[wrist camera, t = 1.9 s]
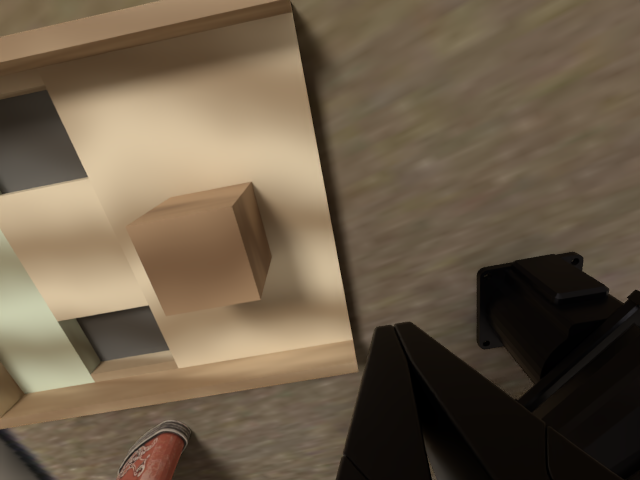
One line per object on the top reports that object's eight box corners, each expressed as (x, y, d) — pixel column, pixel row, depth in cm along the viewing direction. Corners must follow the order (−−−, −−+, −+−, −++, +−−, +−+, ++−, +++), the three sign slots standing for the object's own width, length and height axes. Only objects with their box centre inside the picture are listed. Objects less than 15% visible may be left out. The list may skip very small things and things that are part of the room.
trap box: (351, 334, 23) (358, 371, 20) (36, 386, 24) (-6, 430, 21) (290, 0, 15) (284, -28, 12) (-168, 102, 16) (-285, 101, 13)
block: (272, 256, 19) (260, 299, 15) (197, 270, 19) (165, 316, 15) (251, 181, 17) (231, 206, 13) (170, 197, 17) (125, 226, 13)
